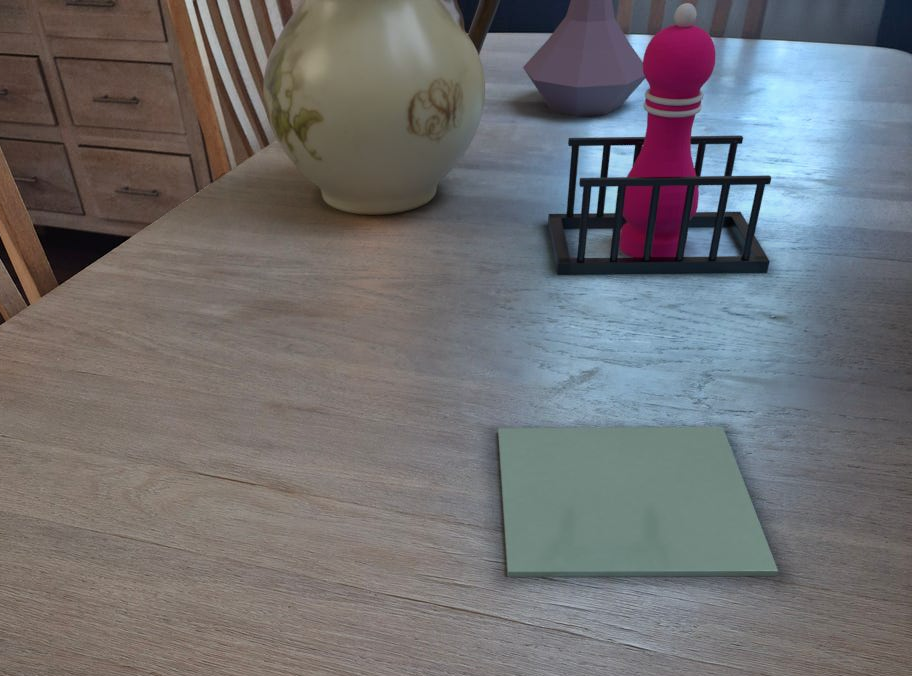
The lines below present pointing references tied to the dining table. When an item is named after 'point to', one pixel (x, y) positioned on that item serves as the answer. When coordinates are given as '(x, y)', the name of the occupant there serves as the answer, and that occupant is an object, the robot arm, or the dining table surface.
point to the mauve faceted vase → (586, 62)
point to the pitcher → (377, 97)
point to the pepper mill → (668, 131)
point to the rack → (741, 230)
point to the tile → (627, 504)
